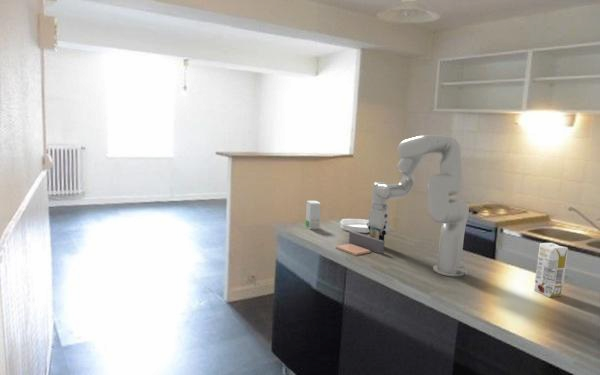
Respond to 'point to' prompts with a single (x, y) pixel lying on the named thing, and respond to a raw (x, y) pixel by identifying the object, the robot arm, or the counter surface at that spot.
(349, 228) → the pan
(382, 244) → the board
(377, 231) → the block
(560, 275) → the juice carton
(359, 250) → the terracotta tile
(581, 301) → the counter surface
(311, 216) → the skincare box
